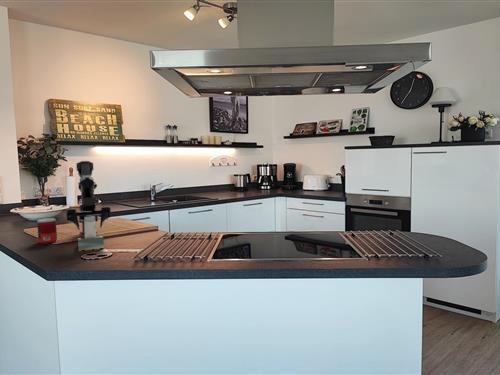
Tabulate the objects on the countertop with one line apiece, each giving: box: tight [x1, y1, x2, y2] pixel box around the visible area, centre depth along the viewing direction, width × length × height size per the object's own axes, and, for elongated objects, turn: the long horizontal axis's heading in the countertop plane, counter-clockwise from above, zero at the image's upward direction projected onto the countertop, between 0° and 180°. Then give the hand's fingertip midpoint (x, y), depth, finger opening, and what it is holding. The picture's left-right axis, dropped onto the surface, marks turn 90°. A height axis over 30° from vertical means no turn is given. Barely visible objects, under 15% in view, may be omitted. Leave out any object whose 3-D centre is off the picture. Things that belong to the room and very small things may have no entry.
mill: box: [84, 216, 97, 239], centre depth 170 cm, size 5×5×13 cm
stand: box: [77, 235, 105, 252], centre depth 171 cm, size 11×10×5 cm
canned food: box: [36, 217, 58, 245], centre depth 181 cm, size 8×8×11 cm
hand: (90, 228), depth 169 cm, fingers open, 9 cm apart
